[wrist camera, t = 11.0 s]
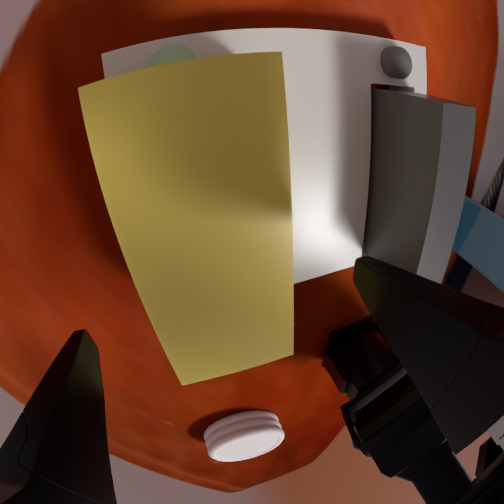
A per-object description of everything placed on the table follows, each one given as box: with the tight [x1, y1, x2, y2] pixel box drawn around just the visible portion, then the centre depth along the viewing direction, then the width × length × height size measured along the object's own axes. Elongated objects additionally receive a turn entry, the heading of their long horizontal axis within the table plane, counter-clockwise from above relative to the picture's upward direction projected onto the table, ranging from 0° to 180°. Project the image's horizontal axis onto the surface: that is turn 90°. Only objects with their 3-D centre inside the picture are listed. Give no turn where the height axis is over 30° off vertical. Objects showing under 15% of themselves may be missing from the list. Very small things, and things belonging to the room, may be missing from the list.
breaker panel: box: [101, 28, 427, 284], centre depth 16 cm, size 18×15×3 cm
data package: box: [452, 196, 504, 293], centre depth 21 cm, size 12×4×12 cm, turn 67°
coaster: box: [204, 410, 284, 462], centre depth 33 cm, size 10×10×4 cm
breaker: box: [363, 88, 476, 283], centre depth 15 cm, size 3×11×5 cm, turn 7°
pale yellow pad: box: [78, 51, 294, 386], centre depth 13 cm, size 6×14×4 cm, turn 7°
